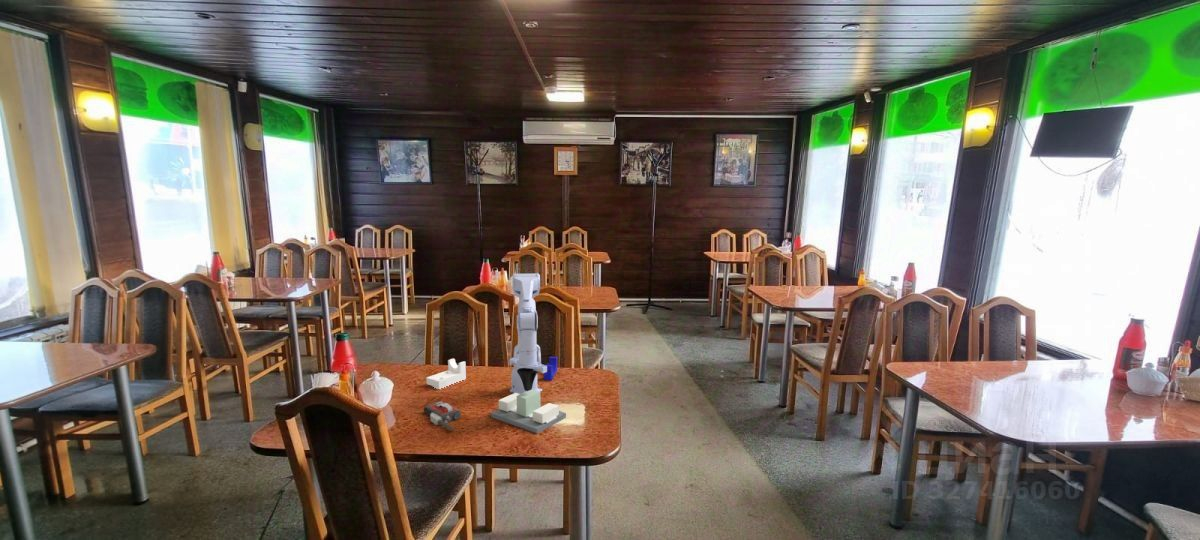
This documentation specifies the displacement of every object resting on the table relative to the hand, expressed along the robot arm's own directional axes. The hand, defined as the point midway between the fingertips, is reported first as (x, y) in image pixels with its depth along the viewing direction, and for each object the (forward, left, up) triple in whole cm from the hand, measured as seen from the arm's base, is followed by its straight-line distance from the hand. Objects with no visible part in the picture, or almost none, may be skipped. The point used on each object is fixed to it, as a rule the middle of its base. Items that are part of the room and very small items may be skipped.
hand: (528, 389), depth 162 cm
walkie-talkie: (-21, -16, -10) cm, 28 cm away
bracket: (-47, +5, -10) cm, 48 cm away
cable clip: (-20, +34, -10) cm, 41 cm away
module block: (0, 0, -8) cm, 8 cm away
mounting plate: (0, 0, -9) cm, 9 cm away
